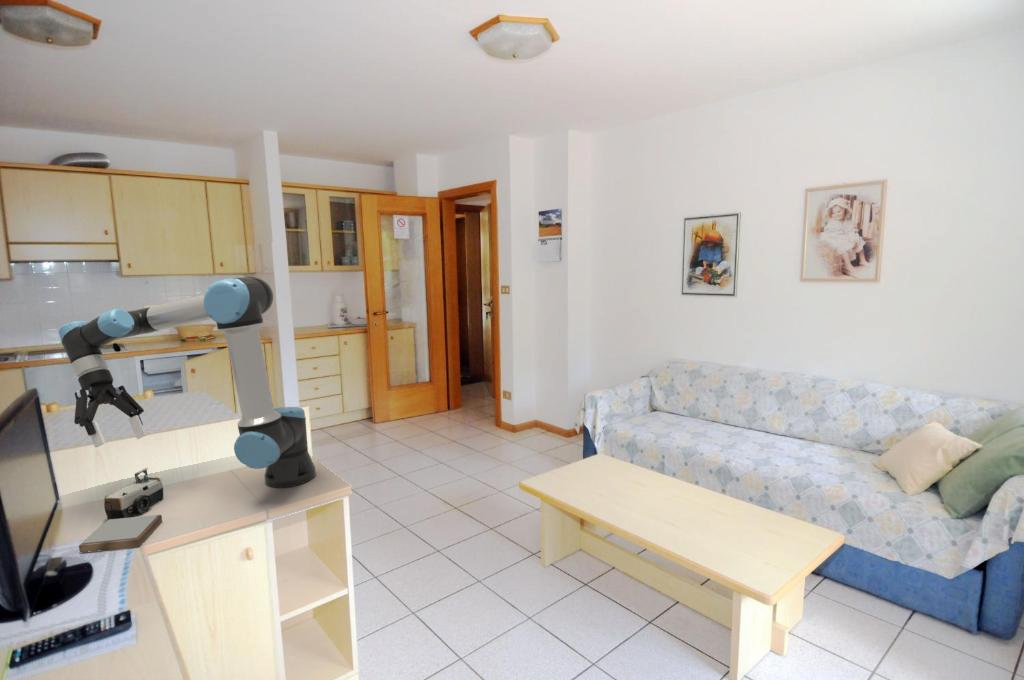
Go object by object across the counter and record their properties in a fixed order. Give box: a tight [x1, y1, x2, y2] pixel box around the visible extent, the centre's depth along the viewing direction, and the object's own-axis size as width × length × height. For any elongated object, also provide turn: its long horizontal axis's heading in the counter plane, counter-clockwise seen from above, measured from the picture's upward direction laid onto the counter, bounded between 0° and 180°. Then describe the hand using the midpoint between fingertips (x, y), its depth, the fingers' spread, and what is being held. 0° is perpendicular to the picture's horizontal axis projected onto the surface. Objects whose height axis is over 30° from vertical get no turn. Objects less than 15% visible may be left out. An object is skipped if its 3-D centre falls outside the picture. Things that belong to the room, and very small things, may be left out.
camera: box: [103, 467, 164, 520], centre depth 153 cm, size 15×8×10 cm, turn 169°
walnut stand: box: [78, 514, 163, 553], centre depth 138 cm, size 13×13×2 cm
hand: (122, 441), depth 152 cm, fingers open, 13 cm apart
